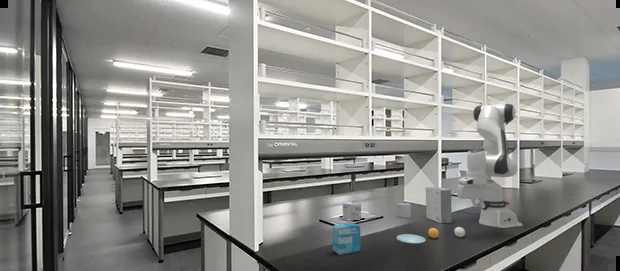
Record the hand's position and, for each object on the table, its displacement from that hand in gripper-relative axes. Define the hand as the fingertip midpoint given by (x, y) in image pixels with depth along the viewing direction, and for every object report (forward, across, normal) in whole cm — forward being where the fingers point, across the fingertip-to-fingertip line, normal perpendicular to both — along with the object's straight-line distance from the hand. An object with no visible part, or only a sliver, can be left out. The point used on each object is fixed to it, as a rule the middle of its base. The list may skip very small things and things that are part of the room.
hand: (477, 206), depth 159 cm
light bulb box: (+15, +57, -41) cm, 72 cm away
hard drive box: (+15, +4, -33) cm, 37 cm away
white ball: (+13, +10, 0) cm, 16 cm away
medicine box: (+15, +22, -43) cm, 51 cm away
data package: (+15, +72, +14) cm, 75 cm away
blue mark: (+15, +36, 0) cm, 39 cm away
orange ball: (+13, +24, 0) cm, 27 cm away
